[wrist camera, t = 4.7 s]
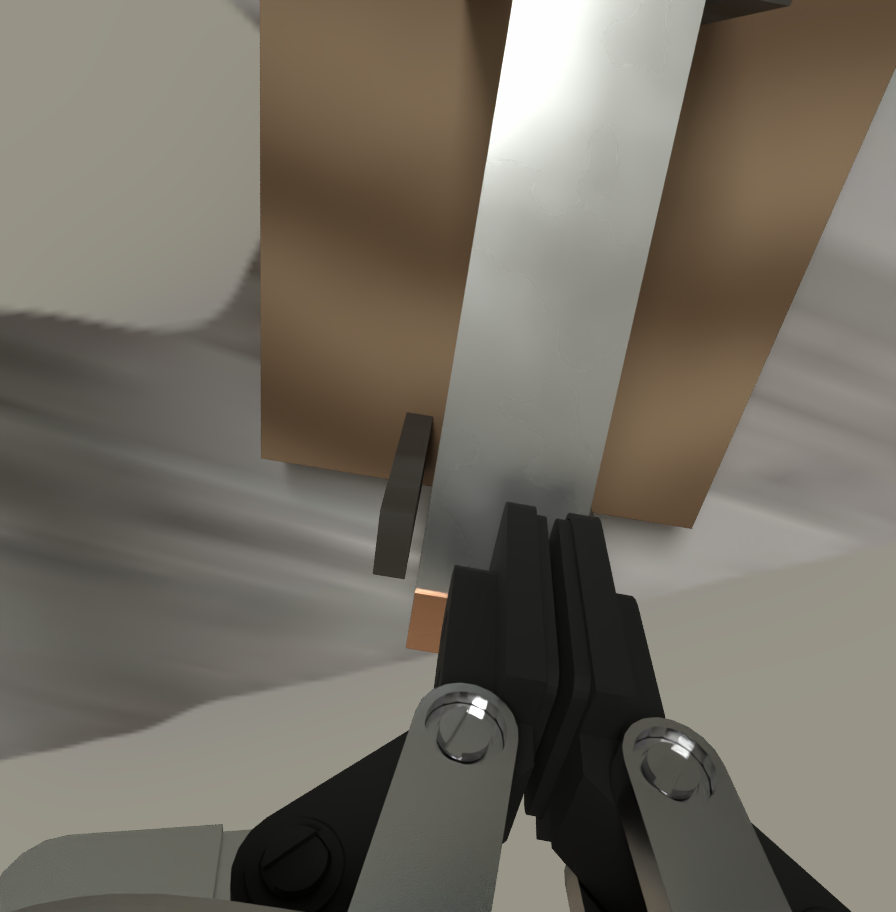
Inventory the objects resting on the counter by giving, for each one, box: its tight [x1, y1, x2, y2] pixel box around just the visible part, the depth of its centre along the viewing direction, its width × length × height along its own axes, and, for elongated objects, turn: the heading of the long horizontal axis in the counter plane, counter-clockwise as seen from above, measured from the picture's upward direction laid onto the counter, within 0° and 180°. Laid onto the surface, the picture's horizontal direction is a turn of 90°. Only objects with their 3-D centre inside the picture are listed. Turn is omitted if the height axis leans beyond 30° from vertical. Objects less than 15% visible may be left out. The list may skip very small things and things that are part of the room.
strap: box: [406, 0, 706, 653], centre depth 12 cm, size 14×3×2 cm, turn 171°
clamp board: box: [260, 0, 896, 579], centre depth 15 cm, size 16×14×7 cm
